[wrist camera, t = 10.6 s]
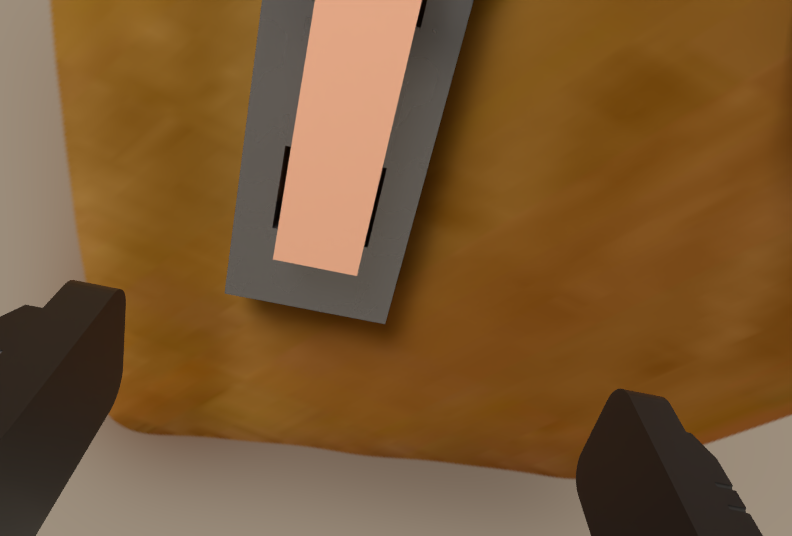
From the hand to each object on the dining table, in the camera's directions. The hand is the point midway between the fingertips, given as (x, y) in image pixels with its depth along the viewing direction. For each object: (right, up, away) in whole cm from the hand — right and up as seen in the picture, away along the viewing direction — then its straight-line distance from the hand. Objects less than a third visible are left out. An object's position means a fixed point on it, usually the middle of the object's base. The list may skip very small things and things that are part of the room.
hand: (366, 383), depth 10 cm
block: (-1, +11, +19) cm, 22 cm away
